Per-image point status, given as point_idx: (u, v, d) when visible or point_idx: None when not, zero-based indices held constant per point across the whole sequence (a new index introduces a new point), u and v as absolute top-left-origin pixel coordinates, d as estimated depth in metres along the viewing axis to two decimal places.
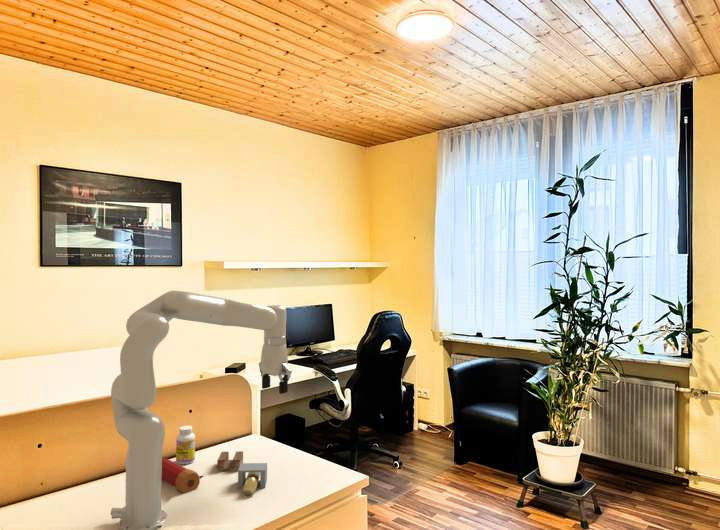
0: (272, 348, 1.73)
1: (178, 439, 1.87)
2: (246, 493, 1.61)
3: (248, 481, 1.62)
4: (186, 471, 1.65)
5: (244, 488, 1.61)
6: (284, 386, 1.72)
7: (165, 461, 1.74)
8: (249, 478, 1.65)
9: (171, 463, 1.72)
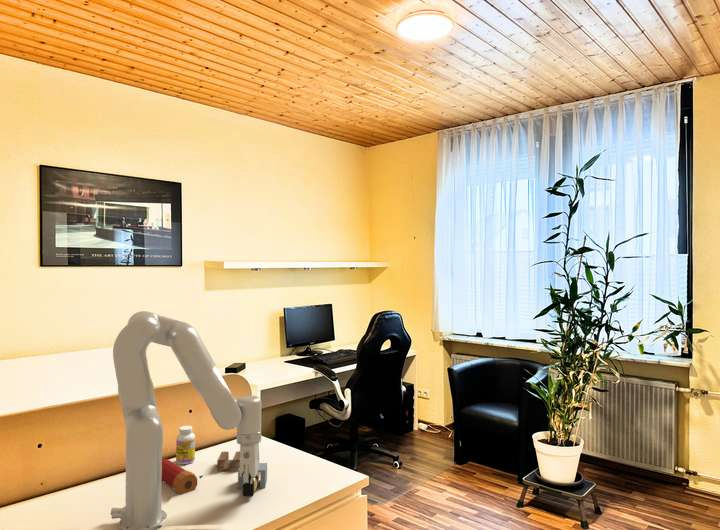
0: None
1: (178, 439, 1.87)
2: None
3: None
4: (184, 472, 1.64)
5: None
6: None
7: (165, 462, 1.74)
8: None
9: (170, 464, 1.72)
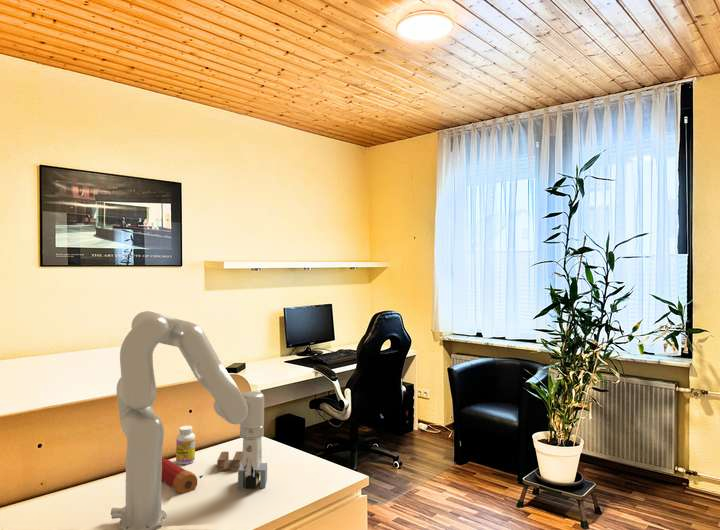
0: None
1: (178, 439, 1.87)
2: None
3: None
4: (184, 472, 1.64)
5: None
6: None
7: (165, 462, 1.74)
8: None
9: (170, 464, 1.72)
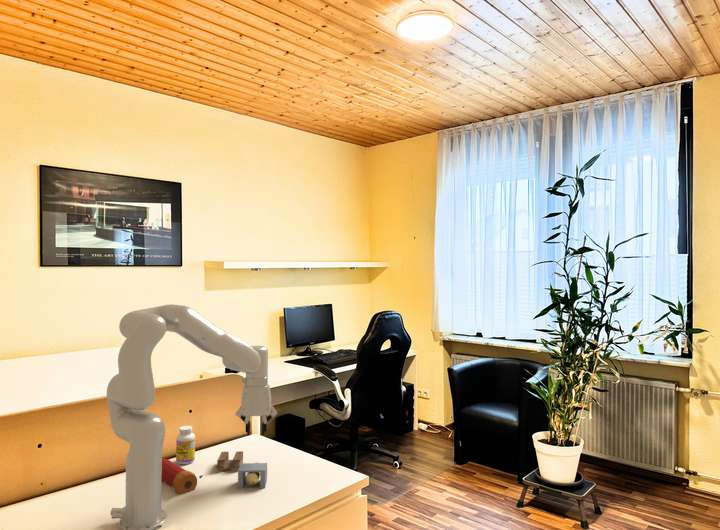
0: (262, 389, 1.74)
1: (178, 439, 1.87)
2: (248, 483, 1.66)
3: (251, 472, 1.68)
4: (183, 472, 1.64)
5: (247, 478, 1.66)
6: (266, 427, 1.77)
7: (165, 461, 1.74)
8: None
9: (170, 464, 1.72)
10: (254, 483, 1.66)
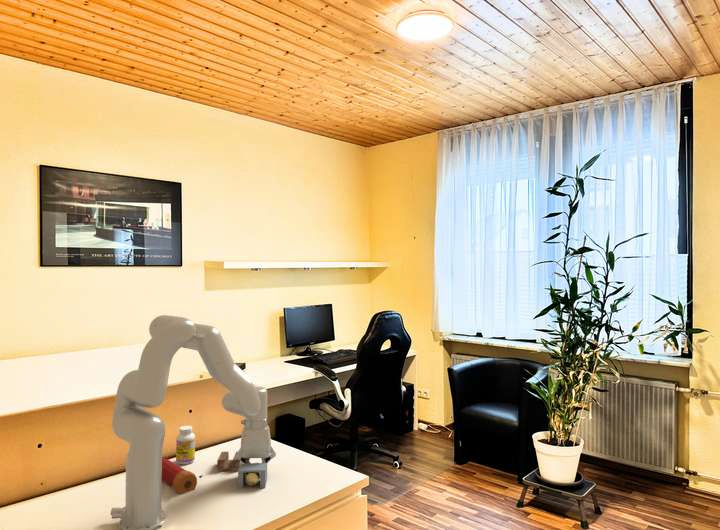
0: (261, 431, 1.74)
1: (178, 439, 1.87)
2: (248, 483, 1.66)
3: (251, 472, 1.68)
4: (183, 472, 1.64)
5: (247, 478, 1.66)
6: None
7: (165, 461, 1.75)
8: None
9: (170, 464, 1.73)
10: (254, 483, 1.66)
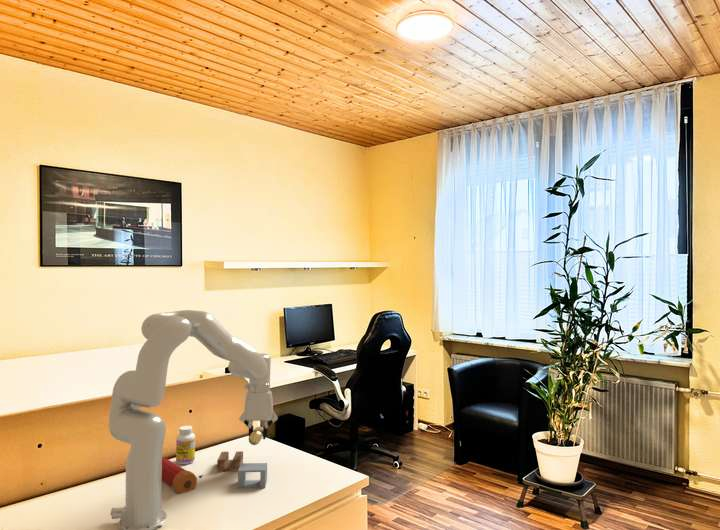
0: (264, 395, 1.83)
1: (178, 439, 1.87)
2: (251, 442, 1.74)
3: (253, 432, 1.76)
4: (183, 472, 1.65)
5: (250, 437, 1.75)
6: (267, 431, 1.85)
7: (164, 461, 1.75)
8: (254, 431, 1.79)
9: (170, 463, 1.73)
10: (256, 442, 1.75)
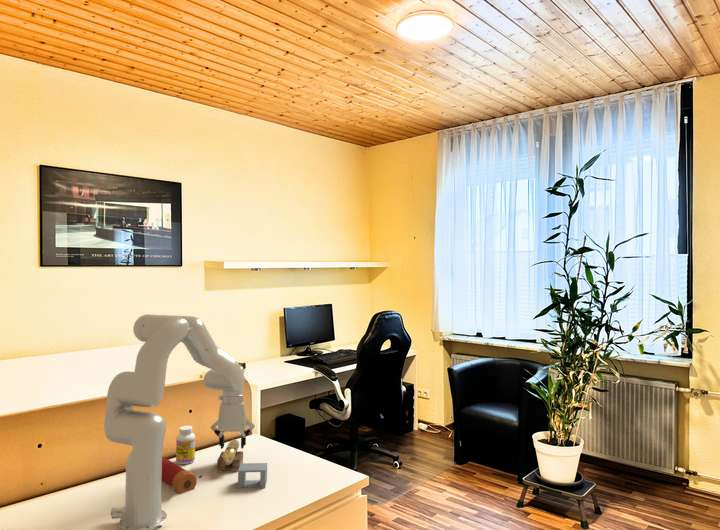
0: (237, 406, 1.85)
1: (178, 439, 1.87)
2: (224, 462, 1.76)
3: (226, 452, 1.78)
4: (183, 472, 1.65)
5: (222, 458, 1.76)
6: (245, 440, 1.88)
7: (164, 461, 1.75)
8: (227, 449, 1.80)
9: (170, 463, 1.73)
10: (229, 462, 1.77)
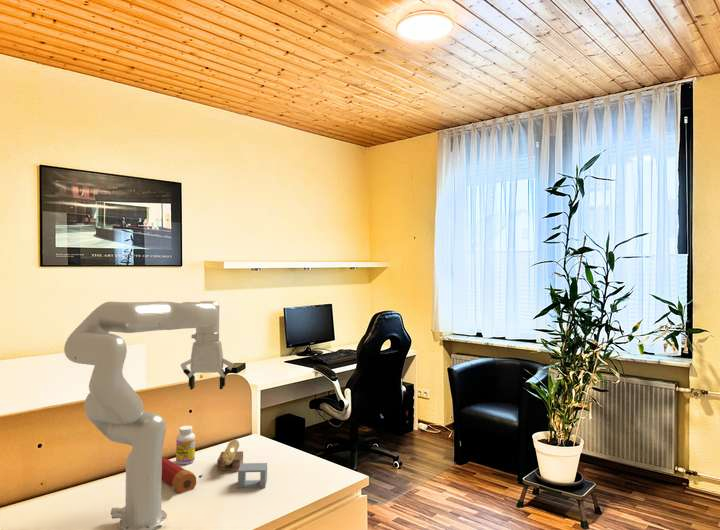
0: (212, 345, 1.69)
1: (178, 439, 1.87)
2: (224, 462, 1.76)
3: (226, 452, 1.78)
4: (183, 472, 1.65)
5: (222, 458, 1.76)
6: (224, 381, 1.71)
7: (164, 461, 1.75)
8: (227, 449, 1.80)
9: (170, 463, 1.73)
10: (229, 462, 1.77)
